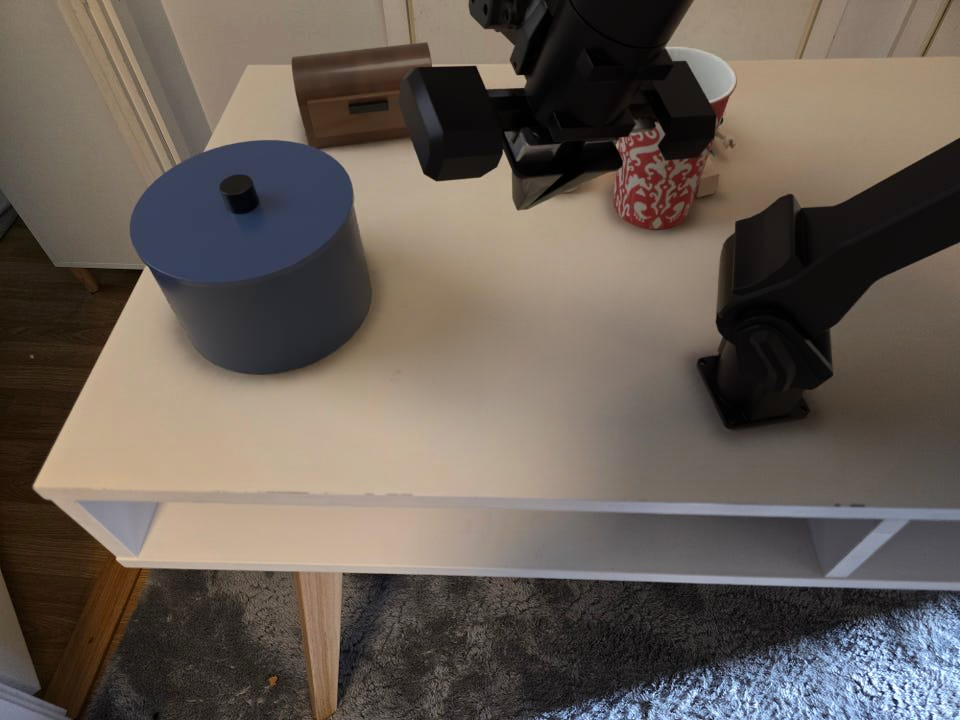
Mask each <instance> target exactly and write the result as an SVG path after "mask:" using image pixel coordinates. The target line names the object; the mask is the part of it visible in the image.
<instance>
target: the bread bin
mask: <svg viewBox="0 0 960 720" xmlns="http://www.w3.org/2000/svg"><path fill="white" fill-rule="evenodd" d="M413 67H433V62H432V56H431V51H430V46H429V43H428V42H427V41H424V42H415V43H405V44H398V45H397V44H396V45H389V46H379V47H371V48H370V47H369V48H361V49H352V50H343V51H334V52H325V53H316V54H308V55H306V54H305V55H298V56H297V55H296V56H292V57H291V72H292V73H291V74H292V80H293V87H294V93H295V97H296V102H297V106H298V110H299V113H300V119H301V122H302V126H303V129H304V134H305V137H306V140H307V141H306V142H307V145H308V146H312V147H314V148H317V149H320V148H329V147H338V146H346V145H354V144H362V143H371V142H379V141H387V140H394V139H395V140H396V139H402V138H410V135H409V132H408V130H407V127H406V124H405V121H404V119H403V116H402V113H401V110H400V108H399V105H398V102H397V101H398V97H399V92H400V87H401V83H402V79H403V77H404V76H405V75H406V73H407V72H408V70H409V69H410V68H413Z"/></svg>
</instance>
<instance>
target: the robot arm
mask: <svg viewBox="0 0 960 720" xmlns="http://www.w3.org/2000/svg"><path fill="white" fill-rule="evenodd" d="M694 2H695V0H468V12H469V15H470V16H471V18H473V20H475V22H476V23H477V24H478V25H480V27H482V28H483V29H484V30H494V31H495V33H501V34H502V35H503V36H504V37H505V38H506V39H507V40H508V41H509V42H510V43H511V44H512V45H513V46H514V47H513V49H512V52H511V55H510V57H509V62H510V64H511V66H512V69H513V71H514V73H515V75H516V76H524V79H525V81H526V82H525V84H524V87H511V88H510V87H507V88H487V87H486V85H485V83H484V80H483V79H482V76H481V74H480V71H479V69H478V66H477V65H445V66H444V65H443V66H442V65H441V66H432V67H413V68H410V69H409V70H408V72H407V73H406V75H405V76H404V77H403V79H402V83H401V87H400V92H399V97H398V101H397V102H398V105H399V108H400V110H401V113H402V116H403V119H404V121H405V124H406V127H407V130H408V132H409V135H410V137H409V138H410V141H411V143H412V146H413V150H414V152H415V154H416V157H417V160H418V163H419V166H420V169H421V172H422V174H423V176H426V177H428V178H429V179H431V180H433V181H435V182H436V183H437V182H449V181H459V180H469V179H480V178H483V177H484V176H485V175H487V174H489V173H490V172H492V171H493V170H495V169H497V168H498V167H499V164H500V163H501V159H502V157H503V155H505V157H506V159H507V162H508V164H509V167H510V170H511V199H512V202H513V204H514V206H515V209H516V210H517V211H525V210H526V211H527V210H530V209H532V208H534V207H536V206H538V205H540V204H542V203H544V202H546V201H548V200H550V199H552V198H555V197H556V196H559V195H560V194H563V193H562V192H565V191H567V190H569V189H571V188H574V187H576V186H578V185H580V184H582V185H583V184H586V183H587V182H589V181H590V182H591V180H594V179H597V178H599V177H601V176H603V175H605V174H609V173H616V171H618V170H619V169H620V168H621V167H622V165H623V160H622V157H621V155H620V153H619V151H618V147H617V143H619V138H620V137H628V136H629V135H630V133H639V132H652V131H653V130H654V129H655V127H656V124H655V122H659V124H660V126H661V128H662V130H663V132H664V133H665V135H664V137H663V138H662V140H661V141H660V142H659V144H658V145H657V146H658V148H659V150H660V152H661V154H662V156H663V158H664V160H665V161H669V160H680V159H691V158H698V157H699V156H700V155H701V153H702V152H703V151H704V150H705V149H706V147H707V146H708V145H709V144H710V142H711V141H712V140H713V139H714V137H715V138H716V136H715V133H716V122H717V115H716V113H715V111H714V109H713V107H712V106H711V104H710V102H709V100H708V99H707V97H706V95H705V93H704V92H703V90H702V88H701V86H700V84H699V83H698V81H697V79H696V77H695V76H694V74H693V72H692V70H691V68H690V67H689V65H688V63H687V61H672V59H671V57H670V55H669V53H668V52H667V50H666V48H665V47H667V45H668V43H669V41H670V40H671V38H672V37H673V36H674V34H675V33H676V31H677V29H678V27H679V26H680V24H681V22H682V21H683V19H684V18H685V16H686V14H687V13H688V11H689V10H690V7H691V6H692V5H693V3H694ZM714 140H715V139H714ZM958 244H960V137H958V138H957V139H955V140H953V141H951V142H950V143H949V142H948V144H946V145H943V146H942V147H940V148H939V149H936V150H935V151H933V152H931V153H929V154H928V155H925V156H924V157H922V158H920V159H918V160H917V161H915V162H913V163H911V164H909V165H908V166H905V167H904V168H902V169H901V170H899V171H896V172H895V173H893V174H891V175H890V176H887V177H886V178H884V179H882V180H881V181H879V182H877V183H875V184H873V185H872V186H870V187H868V188H866V189H864V190H862V191H861V192H859V193H857V194H855V195H854V196H852V197H850V198H848V199H846V200H845V201H842V202H840V203H838V204H835V205H823V206H807V207H802V206H801V204H800V203H799V201H798V199H797V198H796V197H795V195H794V194H793V193H787V194H785V195H782V196H780V197H778V198H777V199H776V200H775V201H774V202H772V203H771V204H770V205H768V206H767V207H766V208H765V209H763V210H762V211H760V212H758V213H756V214H754V215H752V216H750V217H745V218H742V219H741V218H740V219H738V220H736V221H735V223H734V232H733V233H732V234H731V235H730V236H728V237H727V238H726V240H725V241H724V243H722V248H721V250H720V257H719V262H718V263H719V264H718V278H717V295H716V308H715V309H716V311H715V324H716V325H715V326H716V328H717V332H718V333H719V334H720V336H722V337H721V341H720V343H719V346H718V348H717V354H716V355H708V356H702V357H698V359H697V360H696V369H697V370H698V373H699V375H700V377H701V379H702V382H703V384H704V385H705V387H706V389H707V392H708V394H709V396H710V398H711V400H712V403H713V405H714V408H715V409H716V411H717V414H718V416H719V417H720V420H721V422H722V424H723V426H724V427H725V428H726V429H728V430H739V429H743V428H744V429H745V428H750V427H751V428H752V427H757V426H762V425H768V424H775V423H780V422H787V421H793V420H799V419H805V418H807V417H808V416H809V414H810V413H811V408H810V406H809V404H808V403H807V401H806V399H805V398H804V396H803V394H804V393H805V390H806V391H813V390H816V389H817V388H818V387H820V386H821V385H823V384H824V383H826V382H827V381H828V380H830V379H831V378H833V376H834V363H833V350H832V349H833V348H832V335H831V329H832V328H833V327H835V326H836V325H838V324H839V323H840V322H841V320H843V318H844V317H845V316H846V315H847V314H848V313H849V312H850V311H851V310H852V308H853V307H854V306H855V305H856V304H857V303H858V302H859V301H860V300H861V298H862V297H863V296H864V295H865V293H867V292H868V290H869V289H870V288H871V287H872V286H873V285H874V284H875V283H876V282H878V281H879V280H881V279H883V278H885V277H887V276H889V275H891V274H894V273H896V272H898V271H900V270H902V269H905V268H908V267H909V266H911V265H914V264H916V263H918V262H920V261H922V260H924V259H927V258H929V257H931V256H933V255H935V254H937V253H940V252H942V251H945V250H947V249H949V248H951V247H953V246H955V245H958ZM731 422H732V423H731Z"/></svg>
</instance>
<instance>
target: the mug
mask: <svg viewBox="0 0 960 720" xmlns="http://www.w3.org/2000/svg"><path fill="white" fill-rule="evenodd" d="M665 48H666V50H667V52H668V53H669V55H670V57H671V59H672V61H687V63H688V65H689V67H690V68H691V70H692V72H693V74H694V76H695V77H696V79H697V81H698V83H699V84H700V86H701V88H702V90H703V92H704V93H705V95H706V97H707V99H708V100H709V102H710V104H711V106H712V107H713V109H714V111H715V113H716V115H717V122H716V133H715V137H714V139H713V140H712V141H711V142H710V144H709V145H708V146H707V147H706V149H705V150H704V151H703V152H702V153H701V155H700V156H699V157H698V158H691V159H680V160H669V161H665V160H664V158H663V156H662V154H661V152H660V150H659V148H658V146H657V145H658V144H659V142H660V141H661V140H662V138H663V137H664V135H665V133H664V132H663V130H662V128H661V126H660V124H659V122H655V124H656V127H655V129H654V130H653V131H652V132H639V133H630V135H629V136H628V137H620V138H619V140H618V147H617V149H618V151H619V153H620V155H621V157H622V160H623V165H622V167H621V168H620V169H619V170H618V171H615V176H614V183H613V184H614V185H613V196H612V197H613V198H612V203H613V208H614V210H615V212H616V213H617V214H618V216H619V217H620V218H622V220H624V221H625V222H626V223H629V224H631V225H632V226H636V227H638V228H642V229H647V230H664V229H670V228H672V227H675V226H677V225H679V224H680V223H682V222H683V221H684V220H685V219H686V218H687V216H688V214H689V212H690V210H691V207H692V203H693V201H694V198H695V196H696V194H695V192H696V189H697V186H698V183H699V180H700V178H701V175H702V172H703V169H704V167H705V164H706V161H707V158H708V155H709V156H710V154H711V153H710V150H711V149H712V147H713V144H714V141H715V139H716V134H717V131H718V128H720V126H721V125H720V122H721V119H722V117H723V118H724V115H725V114H724V113H725V112H726V108H727V105H728V103H729V99H730V97H731V96H732V94H733V93H734V92H735V90H736V88H737V85H738V77H737V73H736V72H735V70H734V68H733V67H732V66H731V65H730V64H729V63H728V62H727V61H725V60H724V59H723V58H721V57H719V56H718V55H716V54H713V53H711V52H709V51H708V52H707V51H705V50H702V49H699V48H693V47H688V46H687V47H686V46H666V47H665ZM724 111H725V112H724ZM719 125H720V126H719Z"/></svg>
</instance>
